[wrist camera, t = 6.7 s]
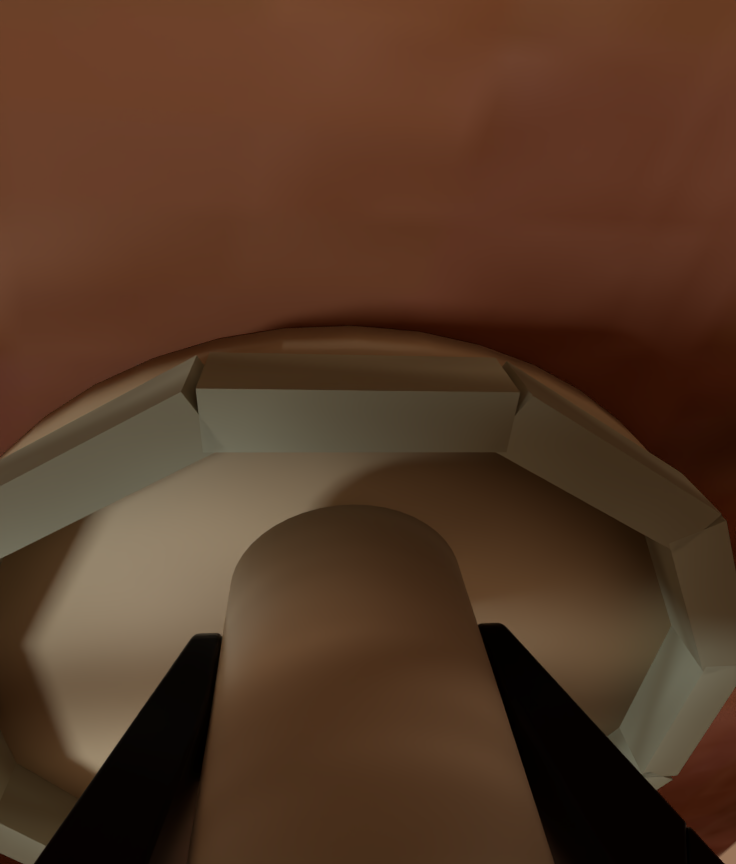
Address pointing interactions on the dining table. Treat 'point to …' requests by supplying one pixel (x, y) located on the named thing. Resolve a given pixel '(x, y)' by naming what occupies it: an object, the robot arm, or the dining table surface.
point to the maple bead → (358, 707)
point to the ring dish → (330, 486)
